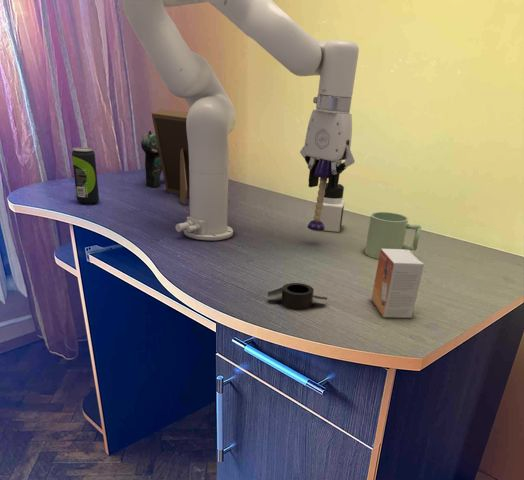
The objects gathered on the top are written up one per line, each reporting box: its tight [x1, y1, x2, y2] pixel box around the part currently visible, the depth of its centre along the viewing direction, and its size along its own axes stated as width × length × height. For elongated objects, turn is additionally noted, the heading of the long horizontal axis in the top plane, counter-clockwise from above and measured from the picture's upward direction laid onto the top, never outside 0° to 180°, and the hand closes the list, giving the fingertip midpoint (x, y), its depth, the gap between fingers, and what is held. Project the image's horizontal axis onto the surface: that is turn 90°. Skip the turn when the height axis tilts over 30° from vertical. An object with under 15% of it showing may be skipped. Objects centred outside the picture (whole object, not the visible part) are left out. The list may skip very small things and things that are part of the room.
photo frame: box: [151, 108, 190, 206], centre depth 159 cm, size 15×22×25 cm
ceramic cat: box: [140, 130, 163, 188], centre depth 178 cm, size 20×6×20 cm, turn 147°
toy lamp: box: [307, 159, 332, 232], centre depth 124 cm, size 5×5×17 cm
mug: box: [364, 211, 422, 260], centre depth 124 cm, size 12×9×9 cm
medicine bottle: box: [320, 182, 345, 233], centre depth 141 cm, size 7×7×12 cm
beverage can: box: [71, 147, 100, 206], centre depth 149 cm, size 6×6×15 cm
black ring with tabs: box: [267, 282, 328, 311], centre depth 96 cm, size 8×10×3 cm
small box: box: [370, 249, 425, 319], centre depth 94 cm, size 8×6×10 cm
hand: (322, 188), depth 123 cm, fingers closed on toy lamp, 4 cm apart
